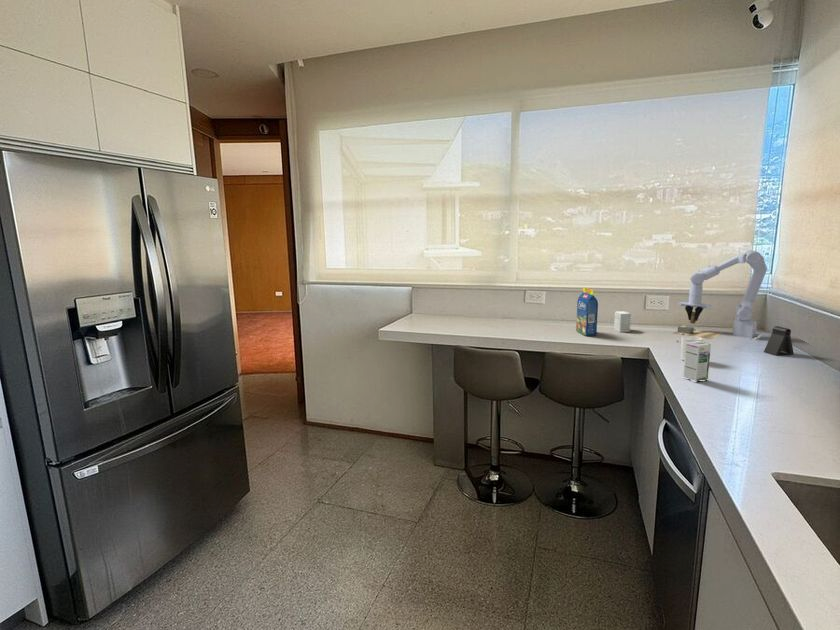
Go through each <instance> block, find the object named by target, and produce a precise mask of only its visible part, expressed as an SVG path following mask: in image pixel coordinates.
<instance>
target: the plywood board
mask: <svg viewBox="0 0 840 630" xmlns="http://www.w3.org/2000/svg"><path fill="white" fill-rule="evenodd" d="M674 334H676V335H681V336H695V337H700V338H702V339H706V340H707V339H708V340H712V339H714V338H716V337H718V336H721V335H722V333H719V332H713V331H711V332H710V331H704V330H698V329H695V328H694V332H693V333H691V334H686V333H680V332H678V330H677V331H675V332H673V335H674Z"/></svg>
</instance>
